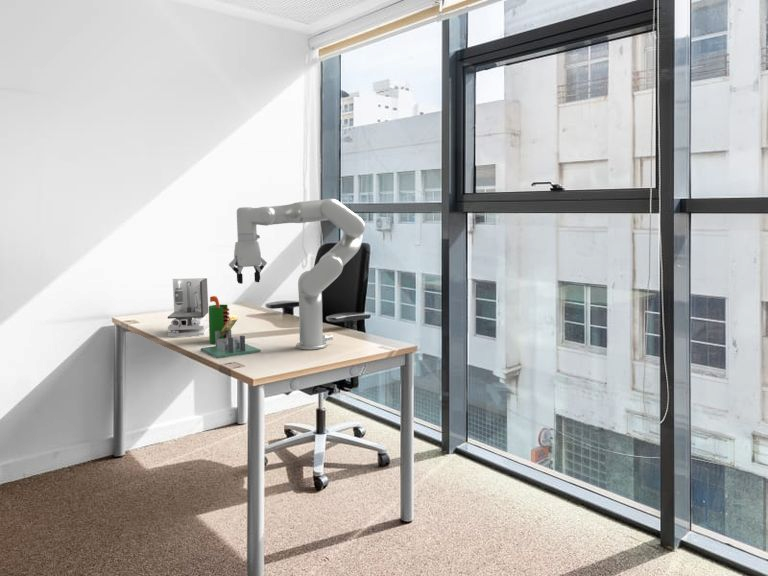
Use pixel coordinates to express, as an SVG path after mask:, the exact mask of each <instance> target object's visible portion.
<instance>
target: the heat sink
mask: <svg viewBox="0 0 768 576" xmlns="http://www.w3.org/2000/svg"><path fill="white" fill-rule="evenodd" d="M226 337H227V338H222V339H220V331H215V342H216V344H215V346H216V347H217V349H219V350H222V351H224V352H228V337H232V338H233V351H235V350H240V337H237V336H232V329H231V330H230V331H229V333H228V334H227V335H226Z"/></svg>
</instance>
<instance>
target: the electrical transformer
mask: <svg viewBox="0 0 768 576" xmlns="http://www.w3.org/2000/svg"><path fill="white" fill-rule="evenodd" d="M172 292H173V312H172V313H171V314H169V315H168V316H167V319H171V322H170V324H169V325H168V326H167V330H168V332H167V333H168V335H167V336H185V337H200V336H199V335H204V336H205V335H206V334H207V333H208V332H209V330H208V329H209V319H206V317H207V316H206V315H207V314H209V297H208V296H209V295H208V294H209V293H208V292H209V291H208V278H202V277H201V278H172ZM207 331H208V332H207ZM206 332H207V333H206ZM205 333H206V334H205Z"/></svg>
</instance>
